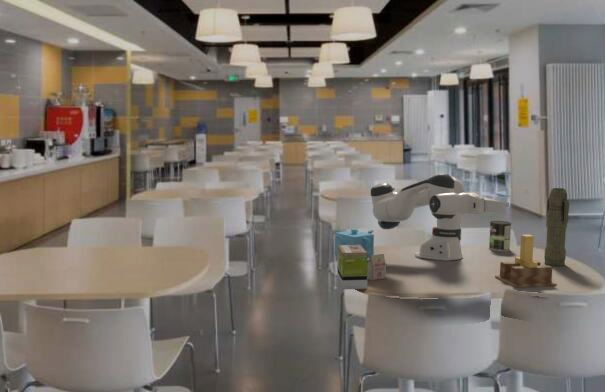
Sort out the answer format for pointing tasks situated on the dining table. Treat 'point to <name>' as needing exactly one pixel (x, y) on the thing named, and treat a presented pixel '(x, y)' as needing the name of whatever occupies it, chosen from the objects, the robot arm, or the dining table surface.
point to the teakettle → (355, 240)
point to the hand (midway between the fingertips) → (502, 202)
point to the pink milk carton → (376, 267)
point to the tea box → (352, 266)
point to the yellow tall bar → (526, 252)
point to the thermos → (556, 227)
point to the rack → (525, 275)
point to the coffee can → (500, 235)
